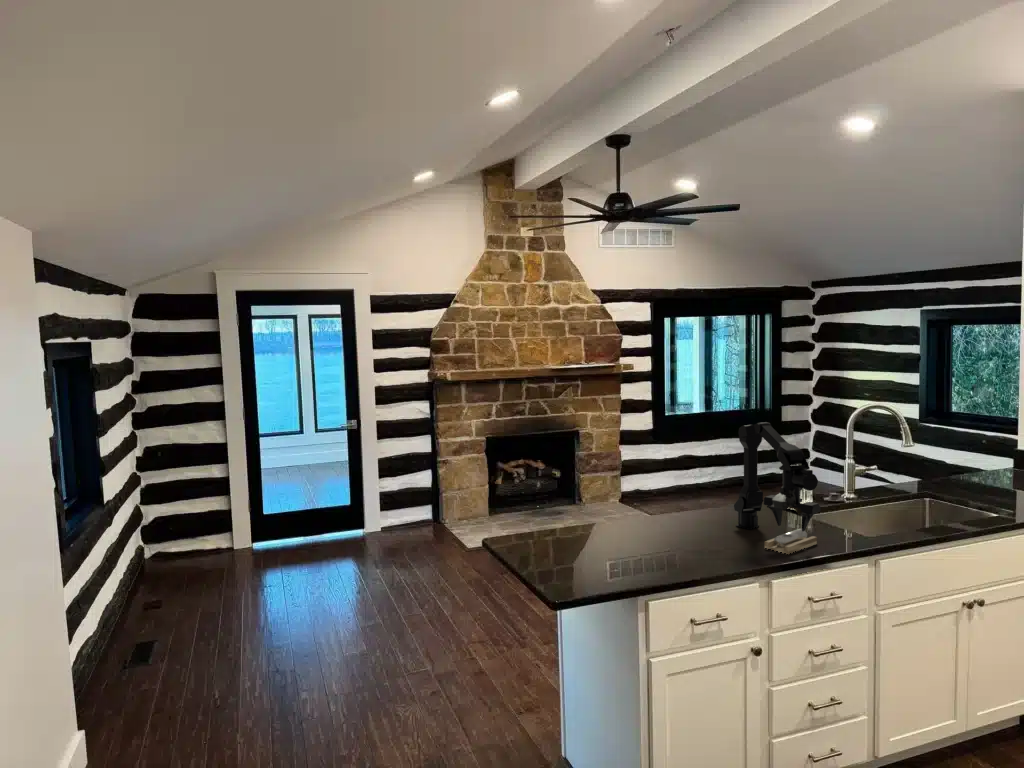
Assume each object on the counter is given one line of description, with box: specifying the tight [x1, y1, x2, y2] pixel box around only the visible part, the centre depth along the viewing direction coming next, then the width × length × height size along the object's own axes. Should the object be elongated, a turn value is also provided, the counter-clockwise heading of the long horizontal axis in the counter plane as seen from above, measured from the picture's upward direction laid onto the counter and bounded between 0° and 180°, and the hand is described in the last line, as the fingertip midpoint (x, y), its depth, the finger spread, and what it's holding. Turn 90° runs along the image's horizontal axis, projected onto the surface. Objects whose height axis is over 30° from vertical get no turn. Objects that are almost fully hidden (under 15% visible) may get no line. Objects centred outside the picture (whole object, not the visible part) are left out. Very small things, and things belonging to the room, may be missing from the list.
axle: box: [773, 527, 808, 548], centre depth 256 cm, size 14×4×4 cm, turn 128°
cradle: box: [764, 535, 818, 555], centre depth 256 cm, size 9×18×2 cm, turn 127°
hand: (791, 528), depth 255 cm, fingers open, 9 cm apart
